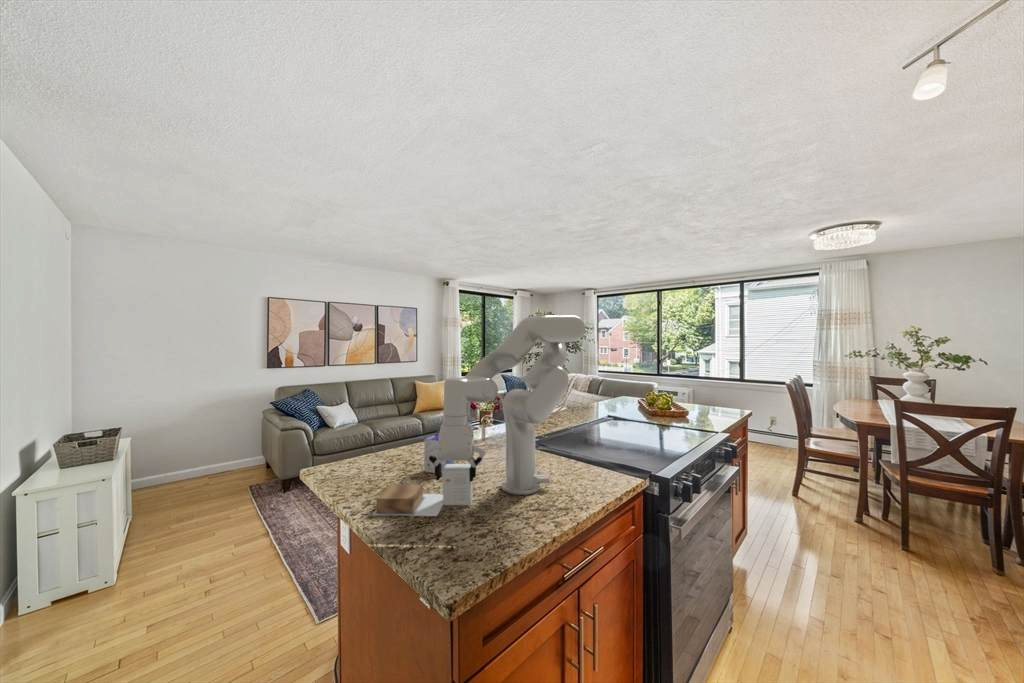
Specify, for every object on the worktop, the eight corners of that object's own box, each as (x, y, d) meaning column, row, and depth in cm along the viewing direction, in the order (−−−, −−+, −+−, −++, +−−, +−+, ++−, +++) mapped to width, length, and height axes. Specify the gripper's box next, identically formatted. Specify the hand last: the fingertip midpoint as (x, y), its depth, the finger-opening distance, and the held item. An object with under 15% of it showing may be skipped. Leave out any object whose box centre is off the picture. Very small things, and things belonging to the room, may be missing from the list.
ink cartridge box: (455, 470, 136) (454, 431, 136) (446, 475, 131) (446, 434, 131) (432, 467, 140) (432, 428, 140) (423, 471, 135) (423, 432, 135)
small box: (473, 498, 112) (472, 463, 112) (470, 506, 106) (469, 469, 106) (446, 498, 112) (446, 463, 112) (442, 506, 106) (441, 469, 106)
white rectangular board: (448, 495, 114) (448, 494, 114) (436, 517, 100) (436, 515, 100) (390, 494, 115) (390, 493, 115) (371, 516, 101) (371, 514, 101)
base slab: (423, 498, 111) (423, 484, 111) (412, 513, 101) (412, 498, 101) (390, 497, 112) (390, 484, 112) (376, 513, 102) (376, 498, 102)
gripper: (487, 418, 112) (486, 475, 111) (430, 417, 112) (429, 473, 112) (484, 423, 104) (483, 485, 104) (423, 422, 105) (422, 483, 105)
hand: (455, 479), depth 108 cm, fingers open, 9 cm apart
